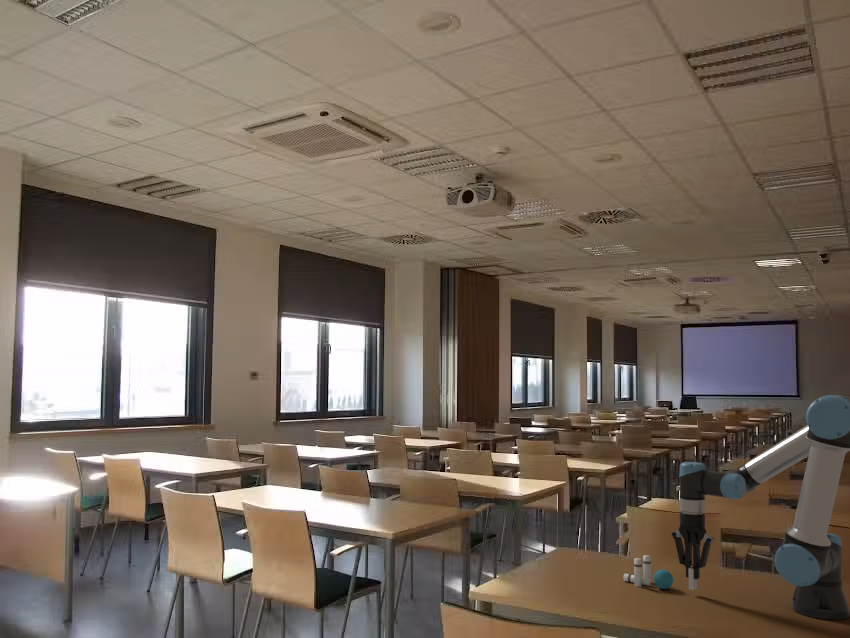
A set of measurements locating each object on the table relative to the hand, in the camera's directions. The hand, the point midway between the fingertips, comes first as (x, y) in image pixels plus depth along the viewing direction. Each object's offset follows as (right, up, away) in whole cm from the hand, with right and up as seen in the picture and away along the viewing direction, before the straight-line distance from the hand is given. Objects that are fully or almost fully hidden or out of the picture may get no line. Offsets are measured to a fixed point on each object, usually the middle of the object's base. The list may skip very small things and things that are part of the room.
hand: (692, 588), depth 237 cm
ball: (-7, +1, +7) cm, 10 cm away
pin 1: (-14, -2, +9) cm, 17 cm away
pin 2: (-10, -3, +14) cm, 17 cm away
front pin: (-11, -1, +10) cm, 14 cm away
